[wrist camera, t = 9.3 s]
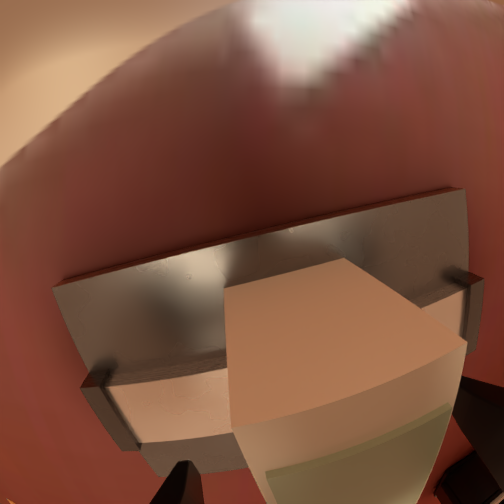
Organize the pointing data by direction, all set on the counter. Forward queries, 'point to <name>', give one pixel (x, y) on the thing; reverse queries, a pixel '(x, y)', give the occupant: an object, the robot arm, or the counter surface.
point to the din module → (337, 386)
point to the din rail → (213, 316)
